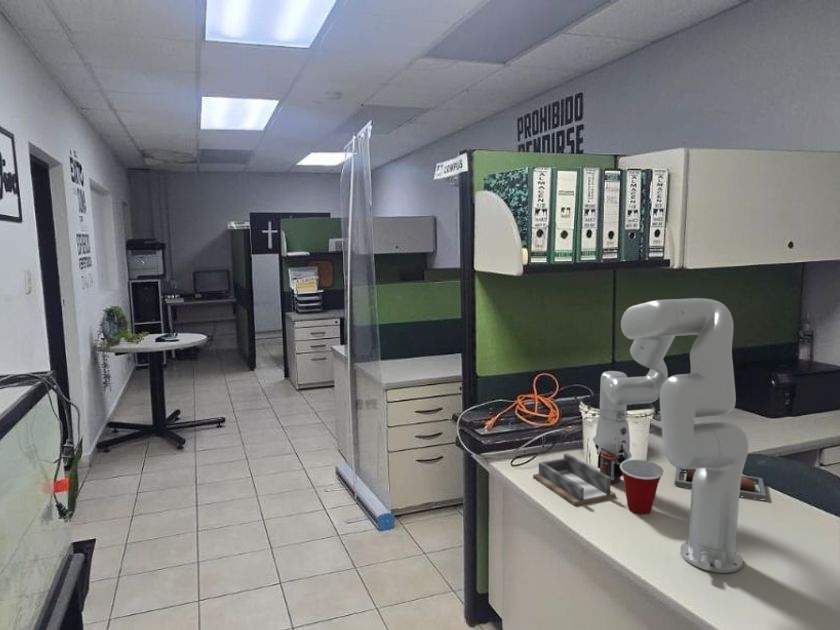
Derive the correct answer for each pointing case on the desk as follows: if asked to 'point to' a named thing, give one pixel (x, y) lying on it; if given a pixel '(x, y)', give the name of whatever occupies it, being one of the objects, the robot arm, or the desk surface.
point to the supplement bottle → (608, 465)
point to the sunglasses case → (744, 486)
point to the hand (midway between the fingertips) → (610, 471)
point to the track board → (574, 480)
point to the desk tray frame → (742, 493)
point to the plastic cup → (640, 484)
